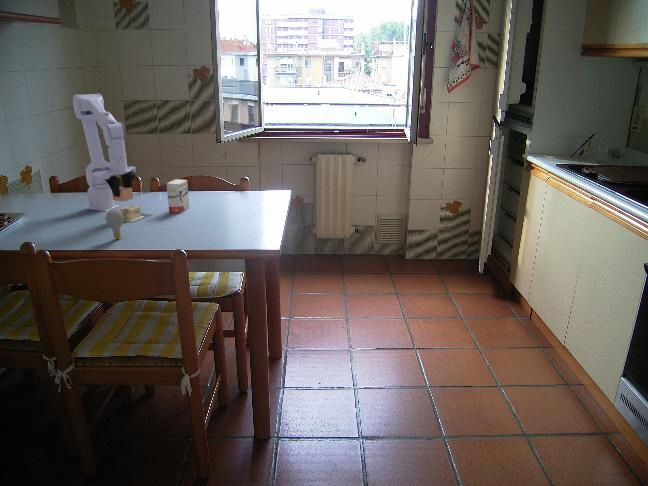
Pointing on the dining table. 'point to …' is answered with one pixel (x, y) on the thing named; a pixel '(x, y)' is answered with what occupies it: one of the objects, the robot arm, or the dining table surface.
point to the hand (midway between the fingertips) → (122, 194)
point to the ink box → (177, 196)
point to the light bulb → (115, 222)
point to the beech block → (130, 212)
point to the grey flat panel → (137, 218)
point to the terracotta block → (124, 194)
